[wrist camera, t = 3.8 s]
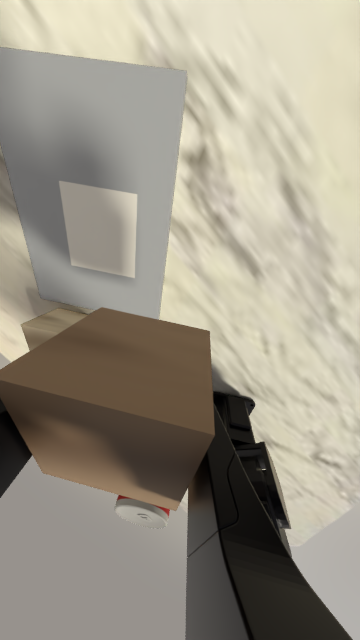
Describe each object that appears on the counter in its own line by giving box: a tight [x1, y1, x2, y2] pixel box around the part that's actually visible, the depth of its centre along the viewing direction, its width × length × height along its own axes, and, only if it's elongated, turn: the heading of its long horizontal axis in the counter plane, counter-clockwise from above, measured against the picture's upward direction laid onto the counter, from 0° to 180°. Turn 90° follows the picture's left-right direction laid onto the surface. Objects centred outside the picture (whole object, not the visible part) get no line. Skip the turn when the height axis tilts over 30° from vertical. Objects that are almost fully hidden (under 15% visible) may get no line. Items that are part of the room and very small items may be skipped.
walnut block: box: [0, 307, 215, 511], centre depth 8 cm, size 6×6×5 cm
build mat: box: [0, 47, 187, 320], centre depth 16 cm, size 20×16×1 cm
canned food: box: [115, 495, 170, 529], centre depth 26 cm, size 8×8×11 cm
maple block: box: [21, 308, 88, 351], centre depth 20 cm, size 4×4×5 cm
